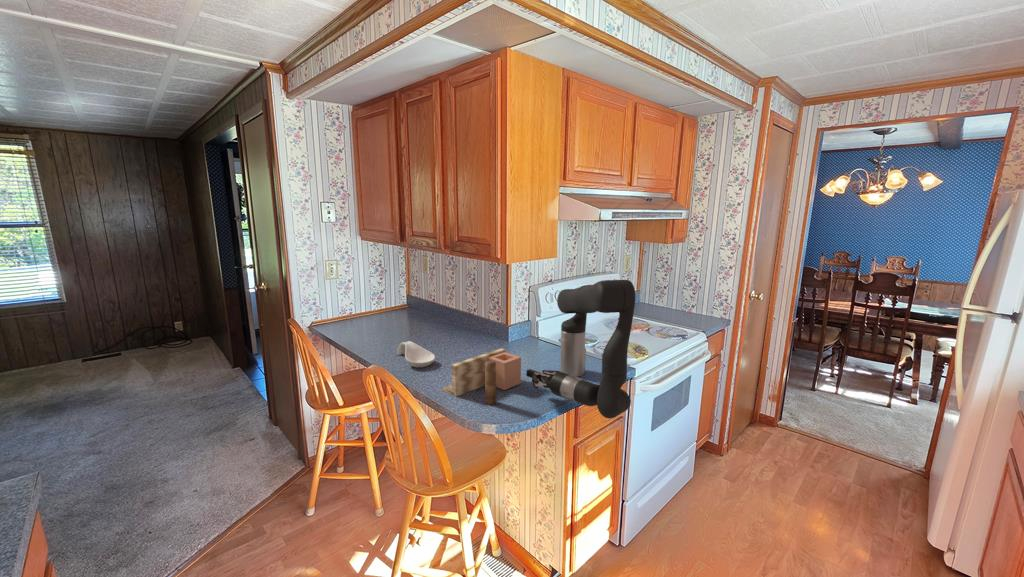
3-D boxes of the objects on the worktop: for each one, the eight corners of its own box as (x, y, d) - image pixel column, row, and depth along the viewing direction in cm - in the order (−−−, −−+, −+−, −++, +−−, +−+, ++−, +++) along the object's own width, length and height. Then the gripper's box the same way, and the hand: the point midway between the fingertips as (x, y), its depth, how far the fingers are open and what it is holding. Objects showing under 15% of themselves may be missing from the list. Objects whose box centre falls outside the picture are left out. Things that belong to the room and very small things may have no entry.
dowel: (490, 399, 145) (490, 360, 143) (498, 402, 143) (498, 362, 140) (483, 402, 143) (482, 362, 140) (490, 406, 141) (490, 365, 138)
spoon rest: (440, 366, 177) (440, 349, 175) (414, 373, 169) (413, 355, 168) (413, 351, 194) (412, 336, 193) (388, 357, 187) (387, 341, 186)
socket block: (504, 376, 164) (504, 351, 162) (520, 383, 158) (520, 357, 156) (488, 383, 158) (487, 357, 156) (504, 390, 152) (504, 363, 150)
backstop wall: (492, 372, 169) (492, 345, 167) (505, 376, 165) (505, 349, 163) (443, 390, 152) (442, 361, 150) (455, 396, 148) (455, 366, 146)
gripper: (580, 369, 141) (540, 357, 153) (555, 381, 132) (514, 367, 144) (580, 391, 142) (540, 377, 154) (555, 404, 133) (514, 388, 145)
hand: (527, 372), depth 149 cm, fingers closed
